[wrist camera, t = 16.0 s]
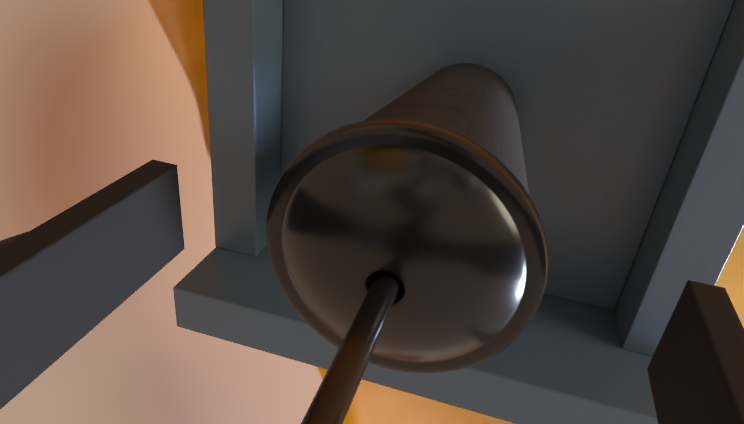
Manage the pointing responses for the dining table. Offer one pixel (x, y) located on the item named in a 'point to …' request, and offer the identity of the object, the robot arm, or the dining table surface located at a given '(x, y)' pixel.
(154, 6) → the dining table surface
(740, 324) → the robot arm
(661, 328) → the sofa
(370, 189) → the drinking cup
